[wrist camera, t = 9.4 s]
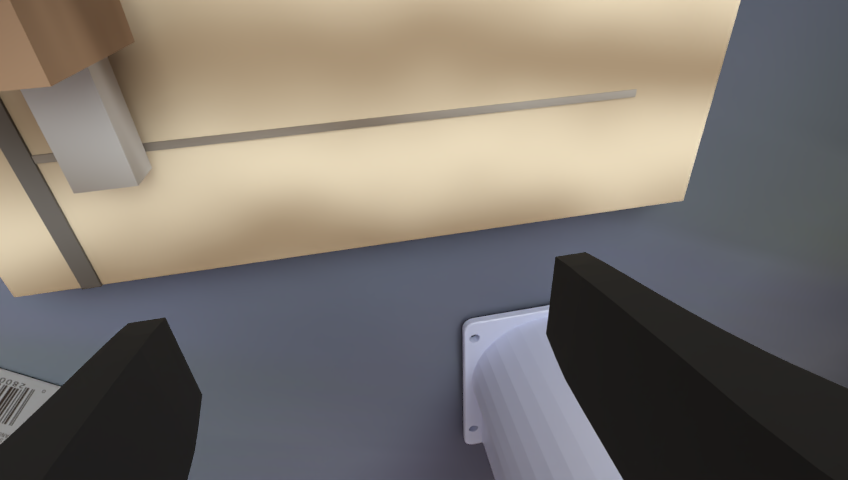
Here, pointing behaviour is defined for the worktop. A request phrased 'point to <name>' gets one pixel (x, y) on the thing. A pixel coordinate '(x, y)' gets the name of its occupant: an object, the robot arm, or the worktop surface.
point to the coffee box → (20, 400)
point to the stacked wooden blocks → (74, 86)
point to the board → (364, 129)
